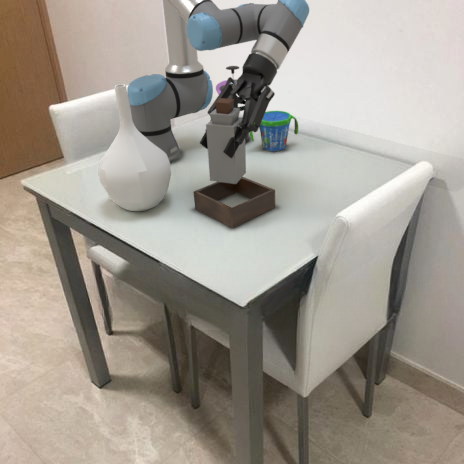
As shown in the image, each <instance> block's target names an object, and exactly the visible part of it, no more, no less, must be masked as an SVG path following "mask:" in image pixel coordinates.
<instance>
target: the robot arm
mask: <svg viewBox="0 0 464 464" xmlns="http://www.w3.org/2000/svg"><path fill="white" fill-rule="evenodd" d="M162 7H163V16H164V18H163V19H164V25H165V26H164V27H165V36H166V44H167V54H168V64H167V66H166V67H165V68H164V71H165V72H164V73H165V76H164V75H163V74H160V73H154V74H150V75H149V74H146V75H143V76H139V77H137V78H135V79H133V80H131V81H130V82H129V83H128V86H127V87H126V89H127V94H128V99H129V104H130V109H131V115H132V121H133V123H134V125H135V127H136V128H137V130H138V131H139V132H140V133H141V134H142V135H144V136H145V137H146V138H147V139H148V140H149V141H150V142H152V143H153V144H154V145H156V146H157V147H158V148H160V149H161V150H162V151H164V152H165V153H166V154H167V157H168V159H169V162H170V163H173V162H175V161H177V160H178V159H179V158H180V157H181V148H180V146H179V144H178V140H177V139H176V137H175V135H174V132H173V130H172V121H171V120H173V119H176V118H180V117H183V116H186V115H190V114H196V113H198V112H200V111H203V110H206V109H207V108H208V107H209V105H210V104H211V102H212V99H213V95H214V87H213V81H212V79H211V76H210V75H209V73H208V72H207V71H206V70H205V69H204V65H203V64H202V63H201V62H199V59H198V58H199V57H198V52H203V51H215V50H217V49H222V48H224V47H229V46H233V45H238V44H239V45H240V44H244V43H248V42H253V41H255V43H254V44H253V46H252V48H251V50H250V53H249V54H248V56H247V57H246V59H245V61H244V63H243V65H242V67H241V68H242V74H241V75H240V76H239V77H238V78H237V79H234V80H233V78H232V77H231V76H230V77H228V78H227V82H226V85H225V87H224V88H223V90H222V91H221V93H220V94H218V96H216V97H215V100H214V101H213V103H212V104H211V106H210V107H209V109H208V110H207V115H209V116H210V113H211V112H212V111H214V110H215V109H216V106H215V102H216V101H217V100H219V99H220V98H226V99H234V107H235V106H236V105H237V104H238V103H241V102H242V101H243V100H245V101H246V103H245V105H244V106H245V108H244V110H243V113H242V117H243V118H242V122H241V123H240V124H239V126H241V127H242V128H240V127H238V126H237V128H236V132H235V136H234V137H232V138H230V140H229V142H228V144H227V146H226V148H225V149H224V151H223V152H224V153H225V154H226V155H227V156H228V157H230V158H233V156H234V154H235V152H236V150H237V148H238V147H239V145H241V144H242V143H243V141H244V139H245V137H246V136H247V134H248V133H249V134H250V132H251V131H252V133H253V132H254V133H257V132H258V130H259V129H260V128H259V126H260V124H261V121H262V119H263V116H264V114H265V112H267V109H268V107H269V105H270V103H271V101H272V99H273V98H274V96H275V94H276V93H275V91H273V89H272V88H271V87H270V86H271V84H272V83H273V81H274V79H275V77H276V75H277V73H278V70H279V69H280V68H281V67H282V64H283V62H284V61H285V59H286V57H287V55H288V53H289V51H290V50H291V48H292V47H293V44H294V43H295V41H296V39H297V38H298V36H299V34H300V33H301V31H302V29H303V28H304V25H305V23H306V20H307V19H308V17H309V14H310V5H309V4H308V2H307V1H306V0H277V2H276V3H270V4H269V3H268V4H267V3H266V4H264V3H263V4H262V3H255V2H252V3H251V2H250V3H243V4H240V5H238V6H237V7H230V8H223V9H220V8H219V7H218V6H217V5H216V3H214V2H213V0H162ZM236 93H237V94H236ZM238 105H239V104H238ZM210 121H211V119H210V120H209V122H210ZM254 123H255V124H254ZM234 142H235V146H234ZM199 144H200V145H201V146H202V147H203V148H204V149H206V150H208V145H207V131H206V129H205V132H204V134H203V135H202V138H201V140H200V141H199Z"/></svg>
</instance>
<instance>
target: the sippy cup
mask: <svg viewBox="0 0 464 464" xmlns="http://www.w3.org/2000/svg"><path fill="white" fill-rule="evenodd" d="M292 119H293V120H294V130H293V133H294V135H296V136H297V135H298V134H299V122H298V120H297V119H298V118H296V117H295V116H294V115H292V114H291V113H289V112H287V111H284V110H267V111H265V114H264V116H263V119H262V121H261V124H260V126H259V128H258V129H259V132H260V139H261V140H260V141H261V145H262V148H263V150H266V151H268V152H279V151H282V150H284V149H286V146H287V144H288V136H289V132H290V131H289V130H290V124H291V122H292ZM254 124H255V123H254ZM249 137H250V141H252V142H254V133H253V131H251V132H249Z"/></svg>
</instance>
